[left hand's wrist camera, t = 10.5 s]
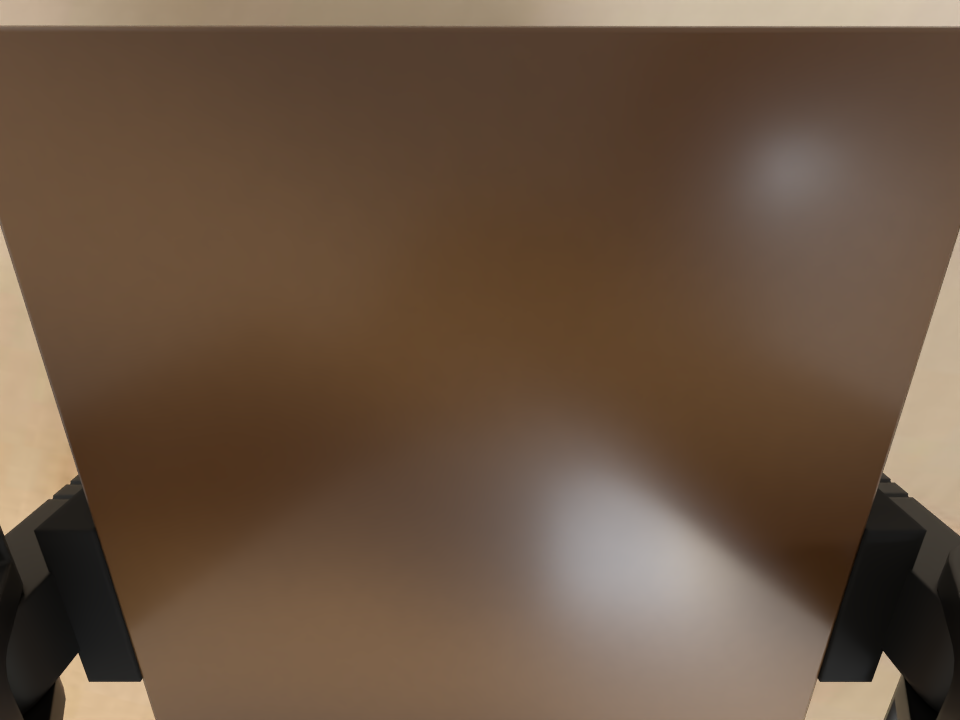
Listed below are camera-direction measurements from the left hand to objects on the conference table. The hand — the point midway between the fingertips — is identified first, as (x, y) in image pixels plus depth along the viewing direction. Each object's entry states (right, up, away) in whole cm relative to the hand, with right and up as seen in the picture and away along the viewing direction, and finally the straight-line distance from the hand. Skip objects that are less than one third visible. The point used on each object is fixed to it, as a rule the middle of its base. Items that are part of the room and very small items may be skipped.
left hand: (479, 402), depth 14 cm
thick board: (0, -31, +13) cm, 34 cm away
